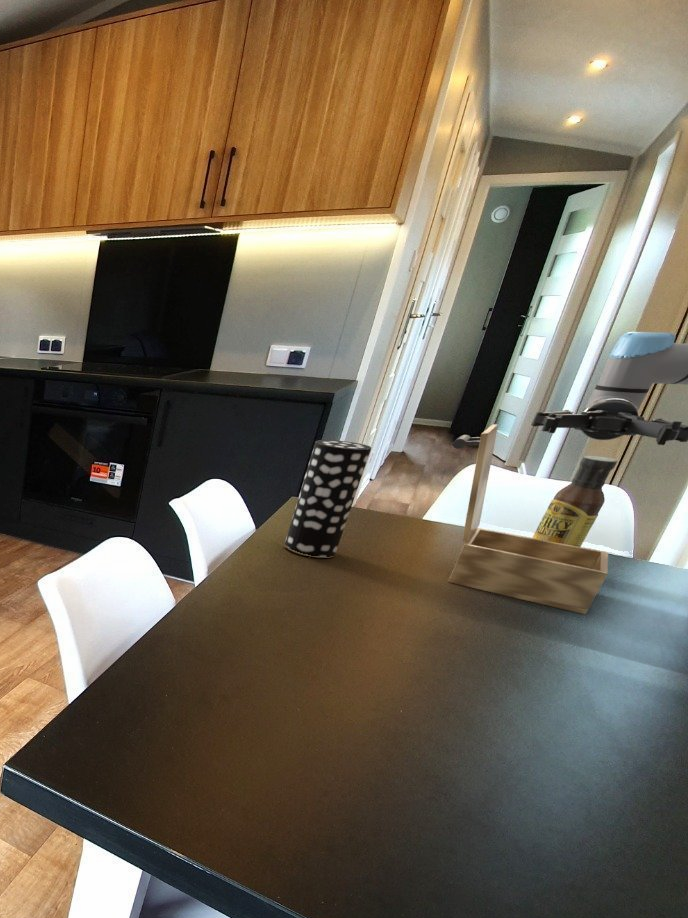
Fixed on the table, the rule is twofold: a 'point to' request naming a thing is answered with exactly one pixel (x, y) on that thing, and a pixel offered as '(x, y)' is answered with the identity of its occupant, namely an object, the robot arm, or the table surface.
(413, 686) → the table surface
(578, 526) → the sauce bottle
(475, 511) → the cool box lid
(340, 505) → the white-spotted black cylinder
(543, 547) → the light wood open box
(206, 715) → the table surface
